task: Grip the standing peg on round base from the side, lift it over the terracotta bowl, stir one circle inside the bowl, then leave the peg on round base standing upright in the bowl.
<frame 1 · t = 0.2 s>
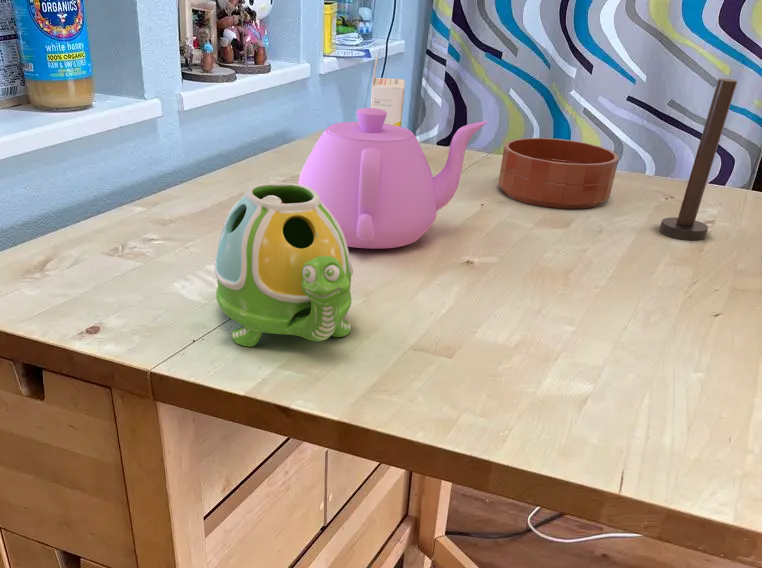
turtle holder: (290, 332, 75), on the table
bowl: (552, 194, 120), on the table
peg on round base: (682, 233, 108), on the table
ink cartridge box: (382, 167, 127), on the table
teapot: (382, 237, 99), on the table
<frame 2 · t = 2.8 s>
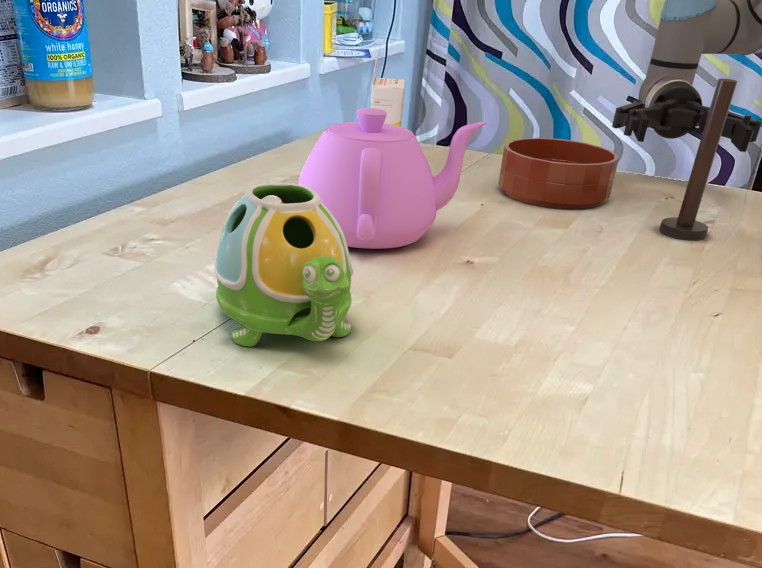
hand: (694, 135, 109), 10 cm above the table, tool horizontal, fingers open, 13 cm apart
nothing on the table moved.
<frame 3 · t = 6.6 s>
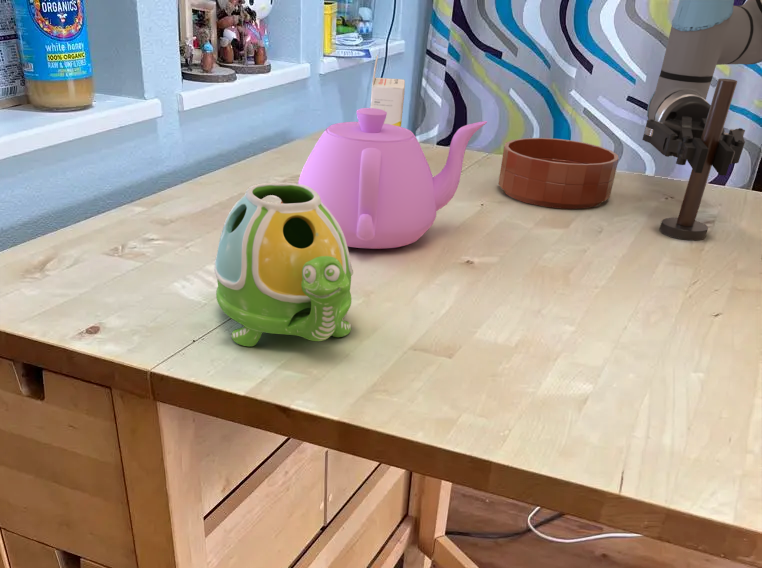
hand: (714, 162, 97), 10 cm above the table, tool horizontal, fingers closed on peg on round base, 2 cm apart
peg on round base: (682, 233, 108), on the table, touching gripper
everything else where it was.
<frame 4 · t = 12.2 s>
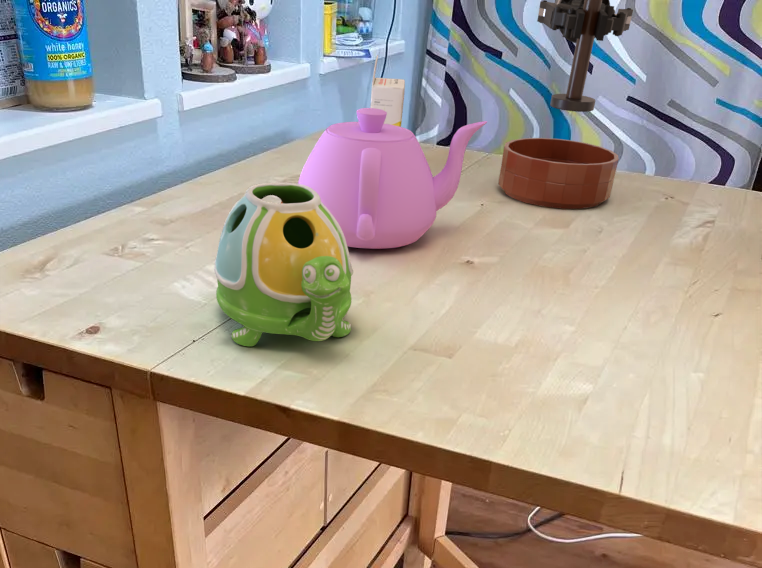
hand: (591, 27, 102), 22 cm above the table, tool horizontal, fingers closed on peg on round base, 2 cm apart
peg on round base: (571, 107, 112), point 12 cm above the table, touching gripper
everything else where it was.
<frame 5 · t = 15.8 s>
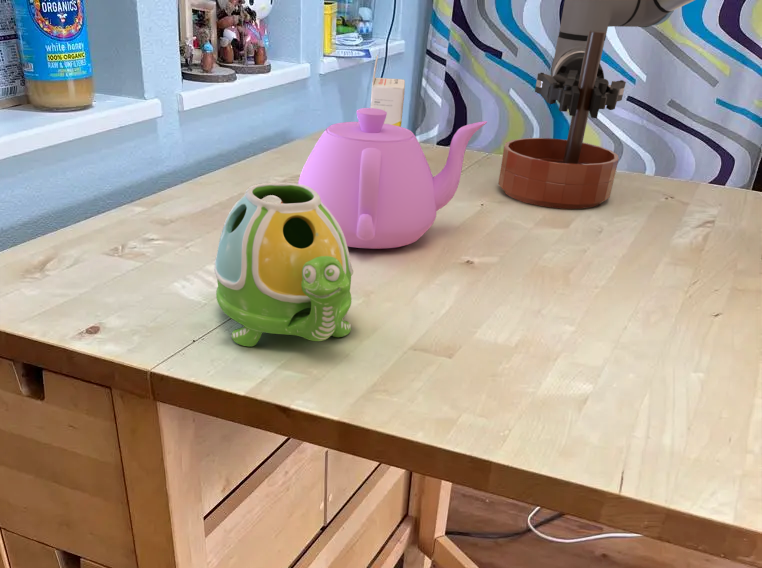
hand: (585, 105, 108), 13 cm above the table, tool horizontal, fingers closed on peg on round base, 2 cm apart
peg on round base: (567, 175, 118), point 3 cm above the table, touching gripper
everything else where it was.
when the fingers open (11 cm above the table, at t = 18.1 s): peg on round base stays where it is, resting on bowl.
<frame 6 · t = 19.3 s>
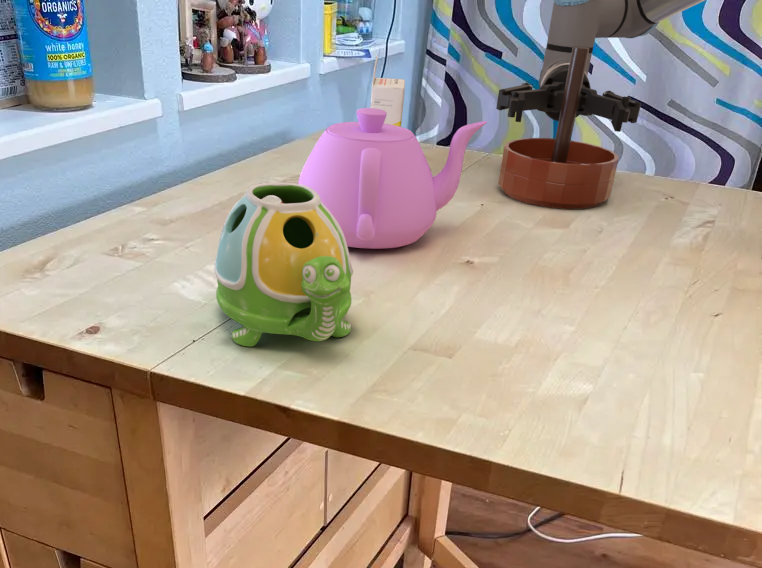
hand: (569, 115, 110), 11 cm above the table, tool horizontal, fingers open, 13 cm apart
peg on round base: (553, 188, 119), point 1 cm above the table, touching bowl
everything else where it was.
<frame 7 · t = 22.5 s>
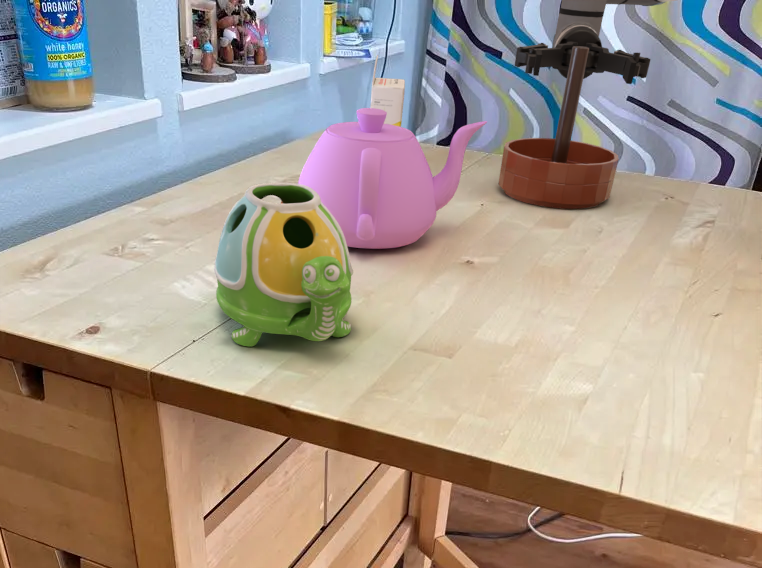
hand: (584, 69, 118), 15 cm above the table, tool horizontal, fingers open, 13 cm apart
nothing on the table moved.
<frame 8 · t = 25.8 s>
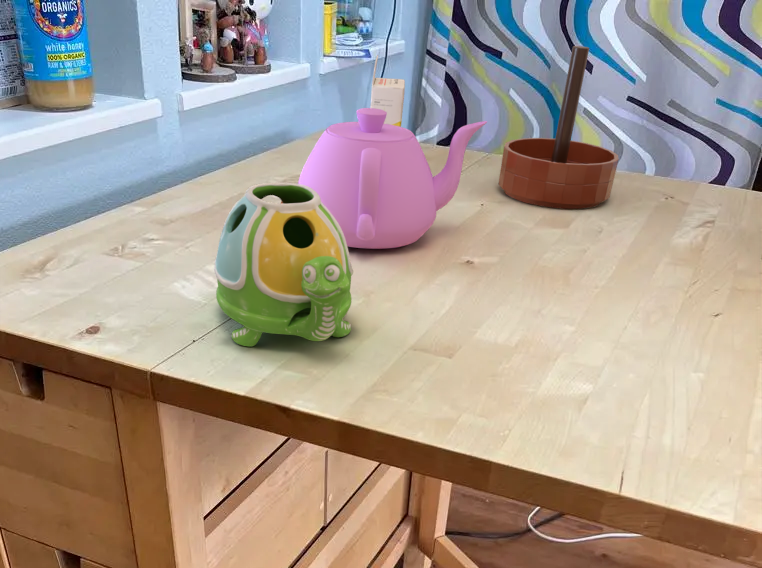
nothing on the table moved.
at the end: peg on round base inside the target area in the bowl (0.1 cm from its centre), point 0.8 cm above the bowl's base; peg on round base tilted 0°; the gripper is holding nothing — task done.
